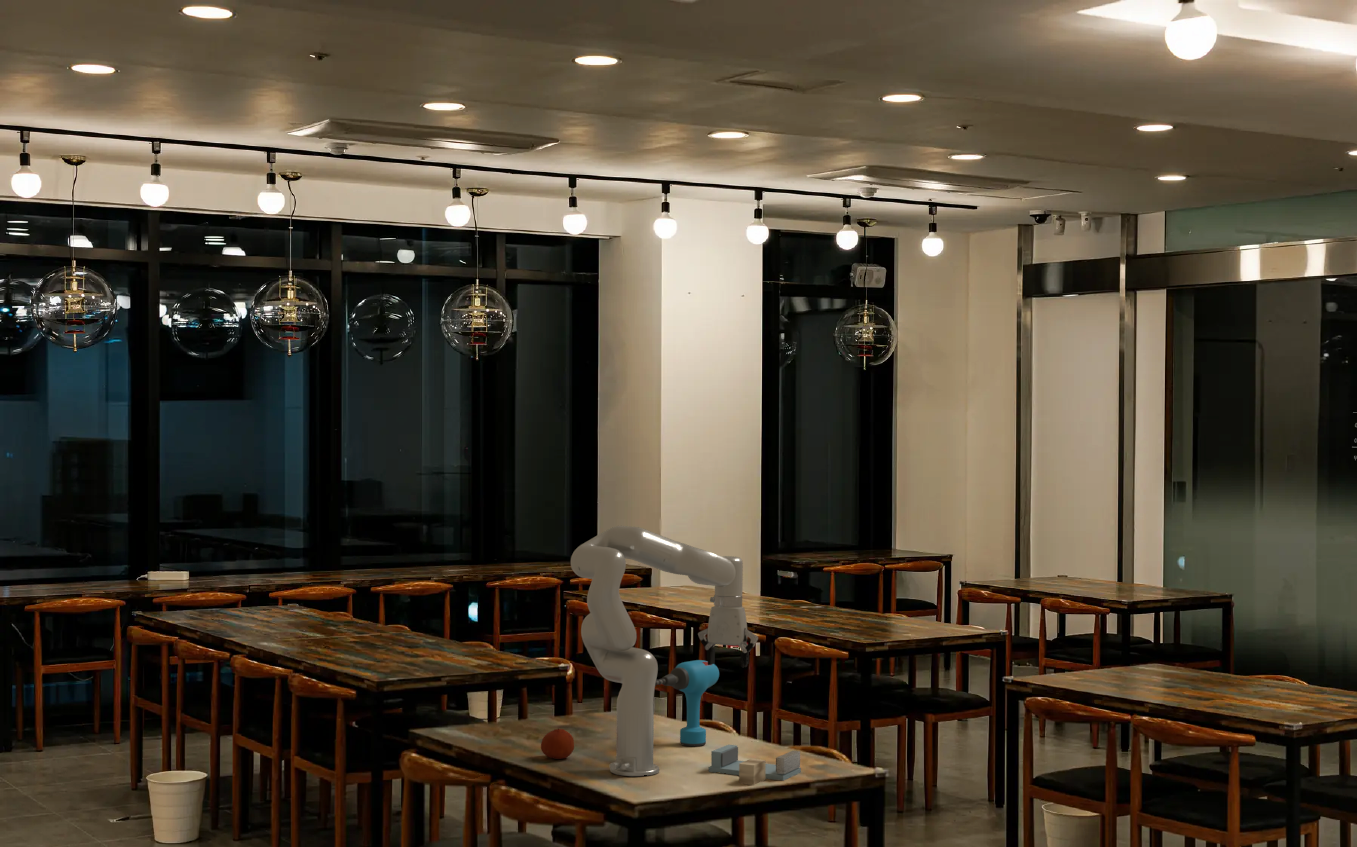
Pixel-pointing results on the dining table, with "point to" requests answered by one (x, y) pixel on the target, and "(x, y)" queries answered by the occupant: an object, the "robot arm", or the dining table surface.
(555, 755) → the fruit
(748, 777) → the block
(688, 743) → the power drill
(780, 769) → the block
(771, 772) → the vise
